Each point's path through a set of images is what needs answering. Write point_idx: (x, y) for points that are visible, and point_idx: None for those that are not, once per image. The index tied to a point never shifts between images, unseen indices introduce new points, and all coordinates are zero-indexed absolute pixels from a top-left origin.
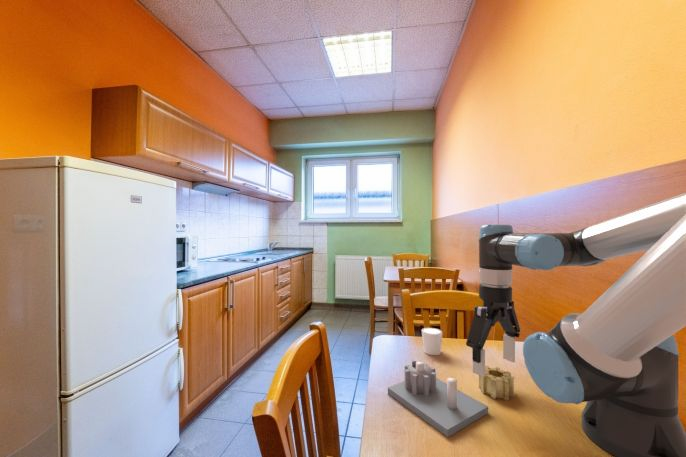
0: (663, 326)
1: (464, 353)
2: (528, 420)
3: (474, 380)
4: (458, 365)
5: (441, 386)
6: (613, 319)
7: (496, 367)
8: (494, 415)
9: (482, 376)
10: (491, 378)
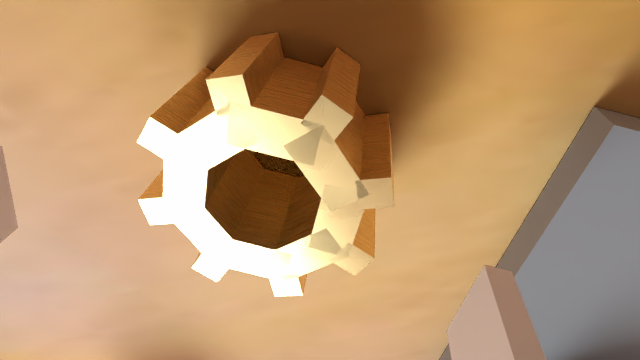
0: None
1: (32, 343)
2: None
3: None
4: (177, 334)
5: None
6: None
7: (154, 220)
8: (600, 70)
9: (509, 277)
10: (364, 208)
